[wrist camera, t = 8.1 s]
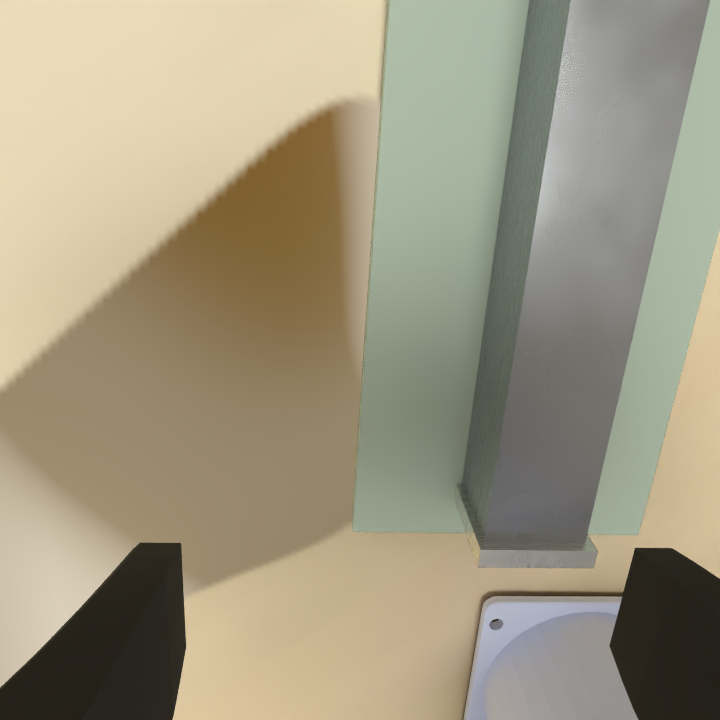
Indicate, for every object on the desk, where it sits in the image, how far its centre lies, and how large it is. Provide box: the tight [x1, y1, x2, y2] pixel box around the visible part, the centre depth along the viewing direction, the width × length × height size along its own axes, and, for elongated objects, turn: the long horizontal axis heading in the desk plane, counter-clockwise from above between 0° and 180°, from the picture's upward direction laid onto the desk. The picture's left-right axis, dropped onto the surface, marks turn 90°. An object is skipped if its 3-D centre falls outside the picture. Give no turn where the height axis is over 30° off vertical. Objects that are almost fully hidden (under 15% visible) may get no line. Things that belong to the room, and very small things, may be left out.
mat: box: [352, 0, 720, 535], centre depth 18 cm, size 22×10×1 cm, turn 176°
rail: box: [454, 0, 710, 568], centre depth 16 cm, size 19×3×3 cm, turn 176°
